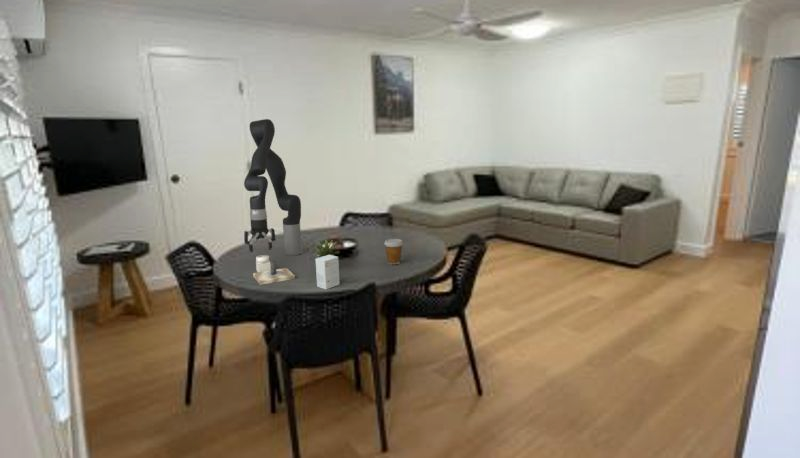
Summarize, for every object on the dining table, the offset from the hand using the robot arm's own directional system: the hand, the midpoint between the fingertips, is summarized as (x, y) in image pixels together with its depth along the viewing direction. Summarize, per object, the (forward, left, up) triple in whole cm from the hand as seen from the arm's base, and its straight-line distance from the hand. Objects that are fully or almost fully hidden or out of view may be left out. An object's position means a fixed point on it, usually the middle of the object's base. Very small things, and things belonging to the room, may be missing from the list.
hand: (260, 250), depth 216 cm
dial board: (-3, +12, -11) cm, 16 cm away
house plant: (-27, +18, -11) cm, 34 cm away
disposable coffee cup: (-62, +22, -11) cm, 66 cm away
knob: (-1, 0, -11) cm, 11 cm away
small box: (-21, +36, -11) cm, 43 cm away
